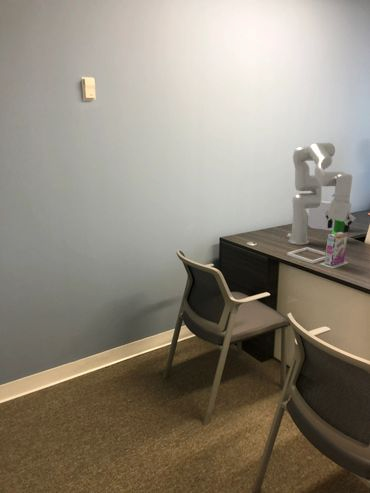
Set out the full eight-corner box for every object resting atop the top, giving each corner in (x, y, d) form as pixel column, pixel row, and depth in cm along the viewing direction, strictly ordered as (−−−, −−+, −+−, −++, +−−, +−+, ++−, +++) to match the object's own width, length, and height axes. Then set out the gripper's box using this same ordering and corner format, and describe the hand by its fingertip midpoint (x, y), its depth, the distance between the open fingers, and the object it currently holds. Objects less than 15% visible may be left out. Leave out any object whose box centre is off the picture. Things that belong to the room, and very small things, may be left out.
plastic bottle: (339, 237, 255) (343, 200, 247) (350, 242, 245) (355, 203, 237) (326, 239, 252) (331, 201, 244) (337, 243, 242) (342, 204, 235)
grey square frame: (287, 255, 221) (287, 252, 221) (307, 249, 231) (307, 247, 230) (312, 263, 207) (313, 261, 207) (332, 257, 217) (333, 254, 216)
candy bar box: (331, 266, 201) (335, 236, 197) (323, 263, 205) (326, 234, 201) (344, 262, 207) (348, 233, 202) (336, 259, 211) (340, 231, 206)
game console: (346, 232, 267) (350, 204, 261) (307, 227, 280) (309, 201, 274) (348, 230, 271) (351, 203, 265) (309, 226, 285) (311, 199, 279)
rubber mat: (319, 264, 206) (319, 263, 206) (335, 259, 213) (335, 258, 213) (332, 268, 200) (332, 267, 199) (348, 263, 207) (348, 262, 207)
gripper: (322, 196, 200) (319, 227, 206) (352, 201, 187) (348, 235, 192) (331, 194, 204) (327, 225, 210) (361, 200, 191) (356, 232, 196)
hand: (337, 230), depth 201 cm, fingers open, 9 cm apart
